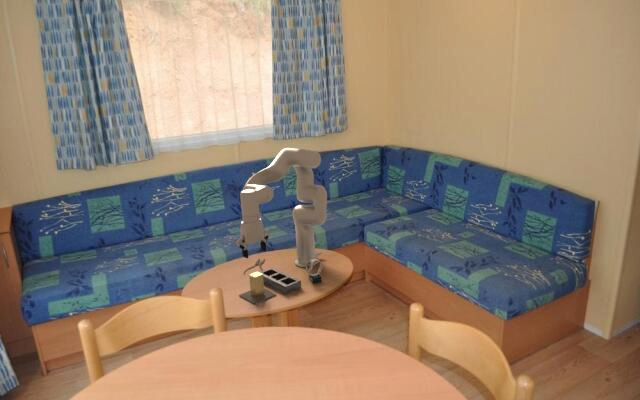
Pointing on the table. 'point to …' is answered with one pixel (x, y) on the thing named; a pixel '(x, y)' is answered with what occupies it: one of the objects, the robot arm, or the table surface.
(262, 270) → the pliers
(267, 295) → the mat
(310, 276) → the watch
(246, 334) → the table surface
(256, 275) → the tan rectangular block
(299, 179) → the robot arm
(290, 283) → the grey compartment tray
